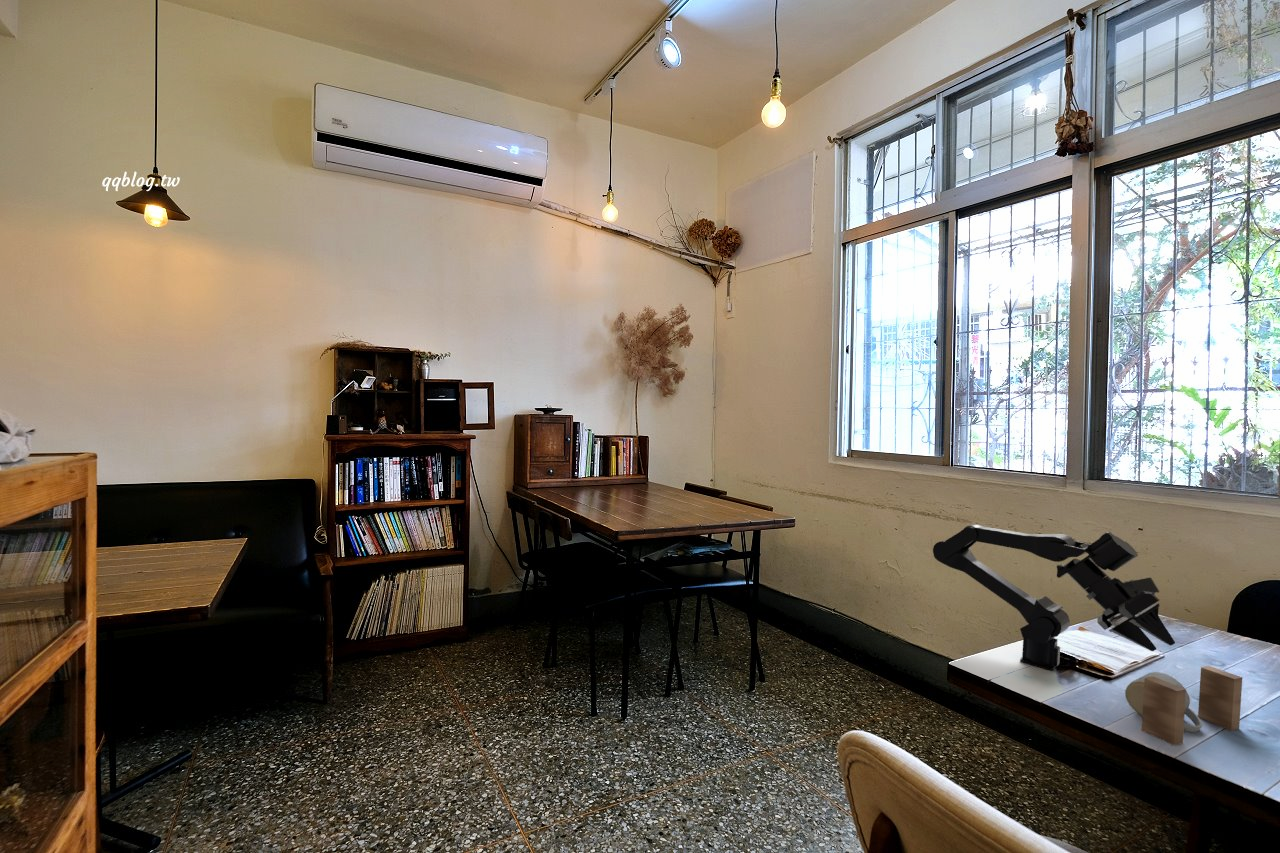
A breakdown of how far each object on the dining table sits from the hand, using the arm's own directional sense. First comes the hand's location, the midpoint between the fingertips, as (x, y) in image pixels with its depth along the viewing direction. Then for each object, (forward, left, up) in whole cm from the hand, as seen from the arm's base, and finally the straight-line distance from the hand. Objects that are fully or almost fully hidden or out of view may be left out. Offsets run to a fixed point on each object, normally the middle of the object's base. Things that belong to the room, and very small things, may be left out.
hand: (1163, 647), depth 116 cm
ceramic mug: (+1, -8, -12) cm, 14 cm away
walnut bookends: (+5, -10, -11) cm, 16 cm away
